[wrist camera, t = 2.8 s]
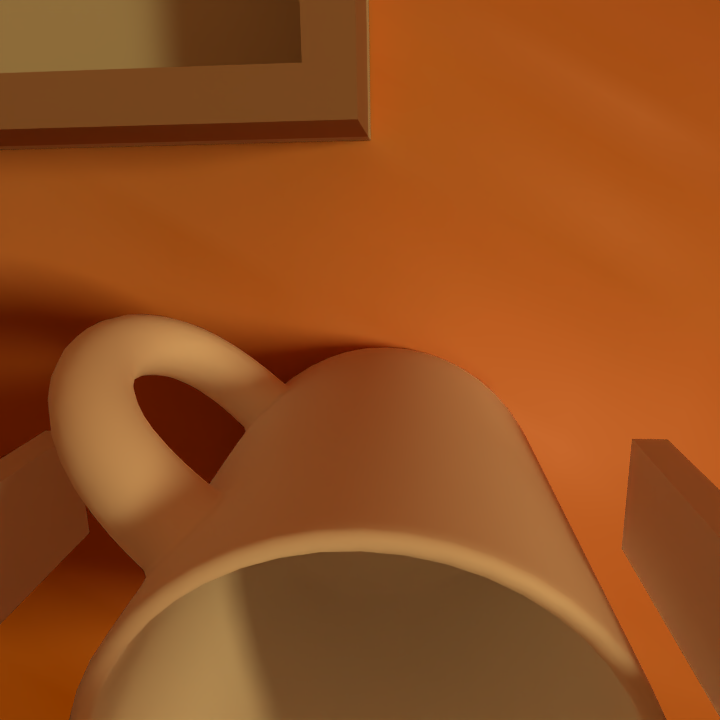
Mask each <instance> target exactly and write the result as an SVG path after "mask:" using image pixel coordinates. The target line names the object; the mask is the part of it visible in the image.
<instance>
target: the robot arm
mask: <svg viewBox="0 0 720 720" xmlns="http://www.w3.org/2000/svg"><path fill="white" fill-rule="evenodd" d="M88 534H89V526H88V519H87V512H86V505H85V503H84V502H83V500H82V499H81V497H80V496H79V495H78V493H77V492H76V490H75V489H74V487H73V485H72V483H71V481H70V479H69V477H68V476H67V474H66V472H65V470H64V468H63V466H62V464H61V462H60V460H59V457H58V454H57V450H56V447H55V444H54V441H53V438H52V435H51V431H44V432H42V433H41V434H39V435H38V436H36V437H34V438H33V439H31V440H30V441H28V442H26V443H25V444H23V445H22V446H20V447H18V448H17V449H15V450H14V451H12V452H11V453H9V454H7V455H6V456H4V457H3V458H1V459H0V624H1V623H2V622H3V621H4V620H5V619H6V618H7V617H8V616H9V615H10V614H11V613H12V612H13V611H14V610H15V609H16V608H17V607H18V605H19V604H20V603H21V602H22V601H23V600H24V599H25V598H26V597H27V596H28V595H29V594H30V593H31V592H32V591H33V590H34V589H35V588H36V587H37V586H38V585H39V584H40V583H41V582H42V581H43V580H44V579H45V578H46V577H47V576H48V575H49V574H50V573H51V572H52V571H53V570H54V569H55V568H56V567H57V566H58V564H59V563H60V562H61V561H62V560H63V559H64V558H65V557H66V556H67V555H68V554H69V553H70V552H71V551H72V550H73V549H74V548H75V547H76V546H77V545H78V544H79V543H80V542H81V541H82V540H83V539H84V538H85V537H86V536H87V535H88ZM622 550H623V552H624V553H625V555H626V557H627V558H628V560H629V562H630V564H631V565H632V567H633V569H634V570H635V572H636V574H637V576H638V577H639V579H640V581H641V582H642V584H643V586H644V588H645V589H646V591H647V593H648V595H649V596H650V598H651V600H652V601H653V603H654V605H655V607H656V608H657V610H658V612H659V613H660V615H661V617H662V619H663V620H664V622H665V624H666V625H667V627H668V629H669V631H670V632H671V634H672V636H673V638H674V639H675V641H676V643H677V644H678V646H679V648H680V650H681V651H682V653H683V655H684V656H685V658H686V660H687V662H688V663H689V665H690V667H691V668H692V670H693V672H694V674H695V675H696V677H697V679H698V681H699V682H700V684H701V686H702V687H703V689H704V691H705V693H706V694H707V696H708V698H709V699H710V701H711V703H712V705H713V706H714V708H715V710H716V711H717V713H718V715H719V717H720V490H719V489H718V488H717V487H716V486H715V485H714V484H713V483H712V482H711V481H710V480H709V479H708V478H707V477H706V476H705V475H703V474H702V473H701V472H700V471H699V470H698V469H697V468H696V467H695V466H694V465H693V464H692V463H691V462H690V461H689V460H688V459H687V458H686V457H685V456H684V455H683V454H682V453H681V452H680V451H679V450H678V449H677V448H676V447H675V446H674V445H673V444H672V443H670V442H669V441H668V440H664V439H632V445H631V456H630V466H629V477H628V487H627V498H626V509H625V519H624V530H623V540H622Z"/></svg>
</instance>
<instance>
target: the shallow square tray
mask: <svg viewBox="0 0 720 720" xmlns="http://www.w3.org/2000/svg"><path fill="white" fill-rule="evenodd" d="M359 140H370V75H369V4H368V0H0V150H14V149H52V148H90V147H129V146H167V145H205V144H244V143H282V142H320V141H359Z"/></svg>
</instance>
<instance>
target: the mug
mask: <svg viewBox="0 0 720 720" xmlns="http://www.w3.org/2000/svg"><path fill="white" fill-rule="evenodd" d="M143 375H160V376H167V377H170V378H174V379H177V380H179V381H181V382H184V383H186V384H188V385H190V386H192V387H194V388H195V389H197V390H199V391H201V392H202V393H204V394H205V395H207V396H208V397H209V398H211V399H212V400H214V401H215V402H216V403H218V404H219V405H220V406H221V407H223V408H224V409H225V410H226V411H227V412H228V413H230V414H231V415H232V416H233V417H234V418H235V419H236V420H237V421H238V422H239V423H240V424H241V425H242V426H243V427H244V428H245V433H244V435H243V436H242V438H241V439H240V440H239V442H238V443H237V444H236V446H235V447H234V449H233V450H232V452H231V453H230V454H229V456H228V457H227V459H226V460H225V462H224V463H223V465H222V466H221V468H220V469H219V471H218V472H217V474H216V475H215V476H214V478H213V479H212V481H211V482H210V484H209V483H207V482H206V481H205V480H204V479H203V478H201V477H200V476H199V475H198V474H197V473H196V472H194V471H193V470H192V469H191V468H190V467H189V466H188V465H187V464H185V463H184V462H183V461H182V460H181V459H180V458H179V457H178V456H177V455H176V454H175V453H174V452H173V451H172V450H171V449H170V448H169V447H168V446H167V444H166V443H165V442H164V441H163V440H162V439H161V438H160V436H159V435H158V434H157V433H156V432H155V431H154V429H153V428H152V427H151V425H150V424H149V422H148V421H147V420H146V418H145V417H144V415H143V413H142V411H141V409H140V407H139V405H138V403H137V399H136V395H135V392H134V387H133V384H134V380H135V379H136V378H138V377H140V376H143ZM48 407H49V418H50V427H51V435H52V438H53V441H54V444H55V447H56V450H57V454H58V457H59V460H60V462H61V464H62V466H63V468H64V470H65V472H66V474H67V476H68V477H69V479H70V481H71V483H72V485H73V487H74V489H75V490H76V492H77V493H78V495H79V496H80V497H81V499H82V500H83V502H84V503H85V505H86V506H87V507H88V509H89V510H90V512H91V513H92V515H93V516H94V517H95V518H96V519H97V521H98V522H99V523H100V524H101V525H102V527H103V528H104V529H105V530H106V532H107V533H108V534H109V535H110V536H111V537H112V538H113V540H114V541H115V542H116V543H117V544H118V545H119V546H120V547H121V548H122V549H123V550H124V551H125V552H126V553H127V554H128V555H129V556H130V557H131V558H132V559H133V560H134V561H135V562H136V563H137V564H138V565H139V566H140V567H141V568H142V569H143V570H144V573H145V576H146V578H145V580H144V582H143V584H142V585H141V587H140V588H139V590H138V591H137V593H136V594H135V595H134V597H133V598H132V599H131V601H130V602H129V604H128V605H127V606H126V608H125V609H124V611H123V612H122V613H121V615H120V616H119V618H118V619H117V621H116V622H115V624H114V625H113V627H112V628H111V629H110V631H109V632H108V634H107V635H106V637H105V639H104V640H103V642H102V643H101V645H100V646H99V648H98V649H97V651H96V652H95V654H94V655H93V657H92V658H91V660H90V662H89V664H88V666H87V669H86V671H85V673H84V675H83V678H82V680H81V682H80V684H79V687H78V689H77V692H76V696H75V699H74V703H73V707H72V711H71V715H70V719H69V720H666V718H665V716H664V713H663V711H662V709H661V707H660V705H659V703H658V700H657V698H656V696H655V694H654V692H653V689H652V687H651V685H650V683H649V681H648V679H647V677H646V675H645V673H644V671H643V669H642V667H641V665H640V663H639V661H638V659H637V657H636V655H635V653H634V651H633V649H632V647H631V645H630V643H629V641H628V639H627V637H626V635H625V633H624V631H623V629H622V627H621V625H620V623H619V621H618V619H617V618H616V616H615V614H614V612H613V610H612V608H611V606H610V604H609V602H608V600H607V598H606V596H605V594H604V592H603V590H602V588H601V586H600V584H599V582H598V580H597V578H596V576H595V574H594V572H593V570H592V568H591V566H590V564H589V562H588V560H587V558H586V556H585V554H584V552H583V550H582V548H581V546H580V544H579V542H578V540H577V538H576V536H575V534H574V532H573V530H572V528H571V526H570V524H569V522H568V520H567V518H566V516H565V514H564V512H563V510H562V508H561V506H560V504H559V502H558V500H557V498H556V496H555V494H554V492H553V490H552V488H551V486H550V484H549V482H548V480H547V478H546V476H545V474H544V472H543V470H542V468H541V466H540V464H539V462H538V460H537V458H536V456H535V454H534V452H533V450H532V448H531V446H530V444H529V442H528V440H527V438H526V436H525V434H524V433H523V431H522V429H521V428H520V426H519V425H518V423H517V421H516V420H515V418H514V417H513V415H512V414H511V412H510V411H509V410H508V408H507V407H506V406H505V405H504V404H503V403H502V401H501V400H500V399H499V398H498V397H497V396H496V394H495V393H494V392H492V391H491V390H490V389H489V388H488V387H487V386H486V385H484V384H483V383H482V382H481V381H480V380H478V379H477V378H476V377H474V376H473V375H471V374H470V373H468V372H467V371H465V370H464V369H462V368H460V367H458V366H456V365H454V364H452V363H450V362H448V361H446V360H444V359H442V358H439V357H436V356H433V355H430V354H427V353H424V352H419V351H414V350H409V349H403V348H390V347H380V348H365V349H359V350H354V351H348V352H345V353H342V354H339V355H335V356H332V357H329V358H327V359H325V360H323V361H321V362H319V363H316V364H314V365H312V366H310V367H309V368H307V369H306V370H304V371H302V372H301V373H299V374H298V375H296V376H294V377H293V378H291V379H290V380H289V381H288V382H287V383H285V384H284V383H283V382H282V381H281V380H280V379H278V378H277V377H276V376H275V375H274V374H273V373H271V372H270V371H269V370H268V369H266V368H265V367H264V366H263V365H261V364H260V363H259V362H257V361H256V360H255V359H253V358H252V357H251V356H249V355H248V354H246V353H245V352H243V351H242V350H241V349H239V348H238V347H236V346H235V345H233V344H231V343H230V342H228V341H226V340H224V339H223V338H221V337H219V336H217V335H215V334H213V333H211V332H209V331H207V330H205V329H203V328H201V327H198V326H195V325H193V324H190V323H187V322H184V321H180V320H176V319H172V318H168V317H164V316H158V315H149V314H128V315H123V316H120V317H116V318H112V319H108V320H104V321H100V322H98V323H96V324H95V325H93V326H91V327H89V328H87V329H86V330H84V331H83V332H82V333H81V334H79V335H78V336H77V337H76V338H75V339H74V340H73V341H72V342H71V343H70V344H69V345H68V346H67V347H66V348H65V349H64V351H63V353H62V355H61V357H60V359H59V361H58V363H57V365H56V367H55V370H54V372H53V374H52V376H51V380H50V387H49V394H48Z"/></svg>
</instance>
